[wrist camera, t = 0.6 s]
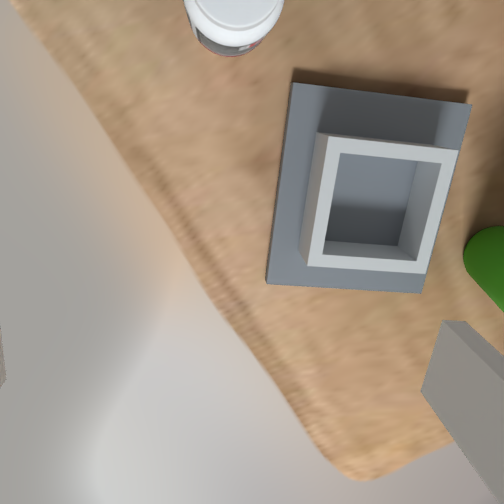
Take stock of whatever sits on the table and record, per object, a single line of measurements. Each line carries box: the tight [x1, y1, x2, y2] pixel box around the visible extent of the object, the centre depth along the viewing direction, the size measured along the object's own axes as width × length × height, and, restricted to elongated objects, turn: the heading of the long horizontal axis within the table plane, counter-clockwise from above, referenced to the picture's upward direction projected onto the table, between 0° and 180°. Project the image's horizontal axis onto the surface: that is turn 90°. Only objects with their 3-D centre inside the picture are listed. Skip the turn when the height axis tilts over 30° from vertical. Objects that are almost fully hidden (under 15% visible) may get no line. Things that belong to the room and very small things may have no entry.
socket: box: [265, 82, 472, 294], centre depth 33 cm, size 16×14×4 cm
